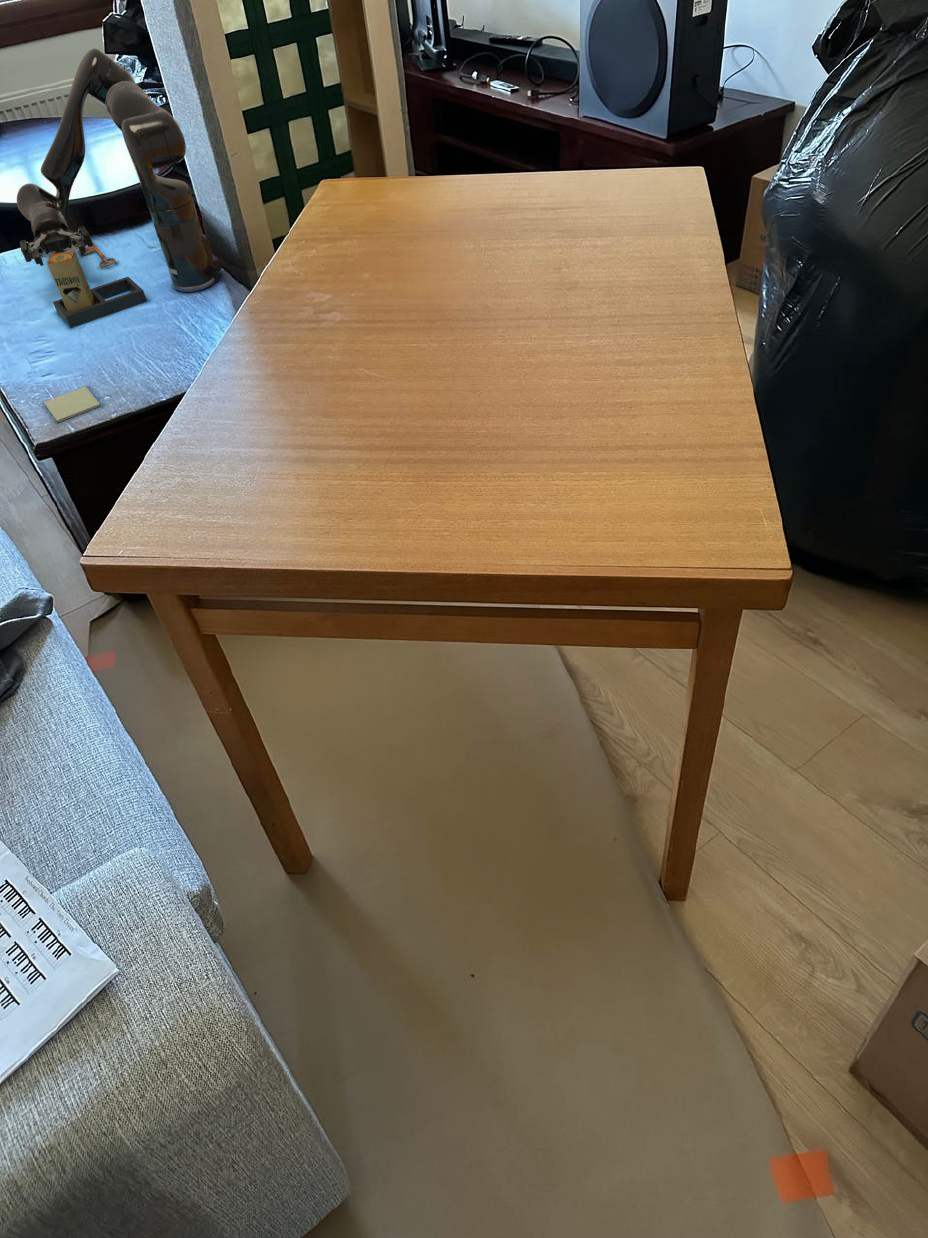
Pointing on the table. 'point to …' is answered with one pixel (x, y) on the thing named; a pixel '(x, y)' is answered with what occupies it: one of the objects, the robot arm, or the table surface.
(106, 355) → the table surface
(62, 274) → the shoe polish box
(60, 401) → the mat
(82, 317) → the holder
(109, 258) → the key
